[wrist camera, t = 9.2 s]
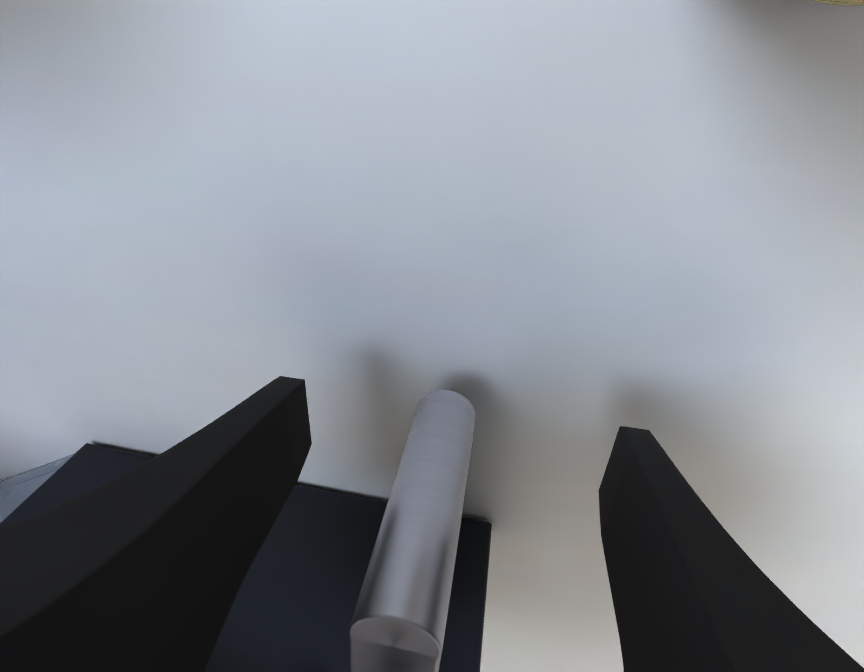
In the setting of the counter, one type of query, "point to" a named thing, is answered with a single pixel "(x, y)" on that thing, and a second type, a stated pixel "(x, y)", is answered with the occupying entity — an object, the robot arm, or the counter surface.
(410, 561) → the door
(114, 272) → the counter surface
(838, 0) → the sauce bottle
